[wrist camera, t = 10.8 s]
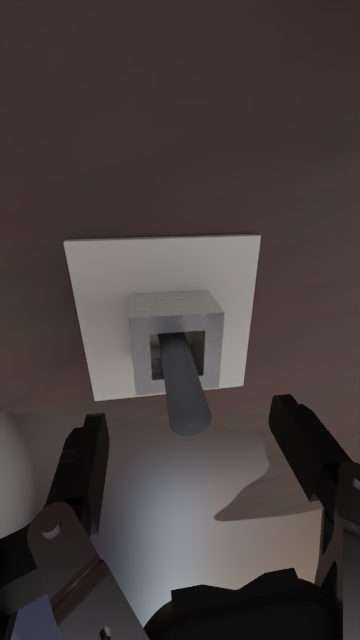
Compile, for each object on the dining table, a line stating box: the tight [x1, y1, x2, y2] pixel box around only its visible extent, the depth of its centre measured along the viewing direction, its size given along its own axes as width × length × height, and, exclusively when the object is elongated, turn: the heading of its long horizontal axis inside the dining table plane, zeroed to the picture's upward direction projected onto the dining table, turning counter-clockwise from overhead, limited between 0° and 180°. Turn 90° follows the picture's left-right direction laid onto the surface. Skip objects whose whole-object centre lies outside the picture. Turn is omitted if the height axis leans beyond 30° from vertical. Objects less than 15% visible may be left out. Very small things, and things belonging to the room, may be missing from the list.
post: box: [63, 234, 261, 436], centre depth 17 cm, size 14×14×11 cm
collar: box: [128, 290, 225, 396], centre depth 19 cm, size 6×6×4 cm
